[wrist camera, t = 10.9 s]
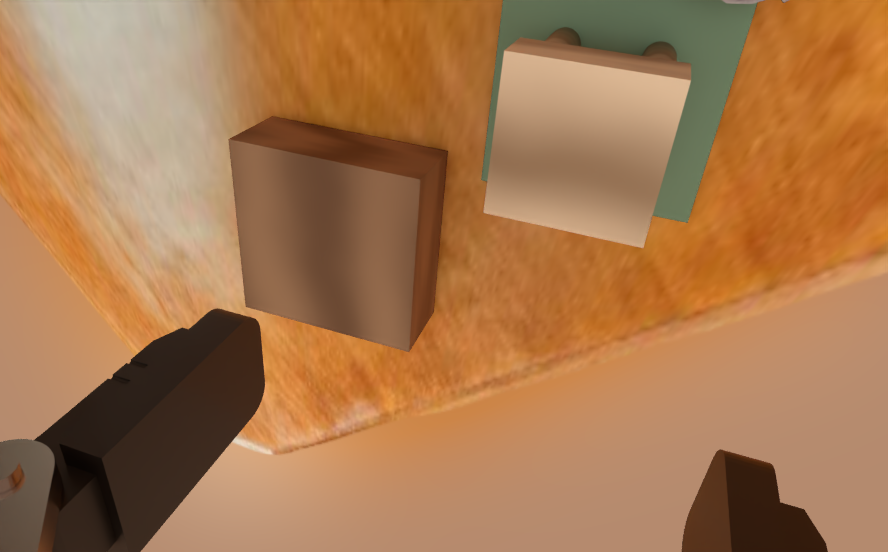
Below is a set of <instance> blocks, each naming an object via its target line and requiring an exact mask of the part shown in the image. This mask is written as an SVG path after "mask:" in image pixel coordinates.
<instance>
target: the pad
mask: <svg viewBox="0 0 888 552" xmlns="http://www.w3.org/2000/svg"><path fill="white" fill-rule="evenodd" d="M757 3H758V2H757ZM757 3H754V4H731V3H725V2H724V1H722V0H503V5H502V13H501V21H500V30H499V38H498V46H497V55H496V63H495V71H494V80H493V88H492V96H491V104H490V113H489V121H488V129H487V138H486V146H485V154H484V163H483V171H482V179H481V180H483V181H487V180H488V172H489V165H490V157H491V149H492V141H493V133H494V126H495V118H496V110H497V102H498V95H499V87H500V79H501V71H502V63H503V56H504V50H506V49H507V48H508V47H509V46H510V45H512V44H513V43H514V42H515V41H517V40H518V39H519V38H520V37H522V38H528V39H535V40H541V41H545V40H546V39H547V38H548V37H549V36H550V35H551V34H552V33H553V32H554V31H556V30H557V29H559V28H563V27H568V28H571V29H573V30H575V31H576V32H577V33H578V35H579V37H580V40H581V47H587V48H593V49H600V50H606V51H613V52H619V53H626V54H632V55H639V56H642V55H643V53H644V51H645V49H646V48H647V47H648V46H649V45H651V44H652V43H655V42H659V41H662V42H667V43H669V44H671V45H672V46H673V47H674V49H675V50H676V54H677V61H678V62H684V63H691V83H690V86H689V90H688V93H687V97H686V100H685V104H684V107H683V111H682V114H681V118H680V121H679V125H678V128H677V132H676V135H675V139H674V142H673V146H672V149H671V153H670V156H669V160H668V163H667V167H666V170H665V174H664V177H663V181H662V184H661V188H660V191H659V195H658V198H657V202H656V205H655V209H654V212H653V216H657V217H662V218H667V219H672V220H677V221H681V222H686V223H688V220H689V217H690V213H691V210H692V207H693V204H694V201H695V198H696V195H697V191H698V188H699V185H700V182H701V179H702V176H703V173H704V169H705V166H706V163H707V160H708V157H709V154H710V151H711V147H712V144H713V141H714V138H715V135H716V132H717V128H718V125H719V122H720V119H721V116H722V113H723V110H724V106H725V103H726V100H727V97H728V94H729V91H730V88H731V84H732V81H733V78H734V75H735V72H736V69H737V66H738V62H739V59H740V56H741V53H742V50H743V47H744V44H745V40H746V37H747V34H748V31H749V28H750V25H751V21H752V18H753V15H754V12H755V9H756V6H757Z"/></svg>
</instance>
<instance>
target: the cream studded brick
mask: <svg viewBox="0 0 888 552" xmlns="http://www.w3.org/2000/svg"><path fill="white" fill-rule="evenodd" d="M690 83H691V63H684V62H678V61H677V54H676V50H675V49H674V47H673V46H672V45H671V44H669V43H667V42H662V41H659V42H655V43H652V44H651V45H649V46H648V47H647V48H646V49H645V51H644V53H643V55H642V56H639V55H632V54H626V53H619V52H613V51H606V50H600V49H593V48H587V47H581V40H580V37H579V35H578V33H577V32H576V31H575V30H573V29H571V28H568V27H563V28H559V29H557V30H556V31H554V32H553V33H552V34H551V35H550V36H549V37H548V38H547V39H546V40H545V41H541V40H535V39H528V38H522V37H520V38H519V39H518V40H517V41H515V42H514V43H513V44H512V45H510V46H509V47H508V48H507V49H506V50H504V56H503V63H502V71H501V79H500V87H499V95H498V102H497V110H496V118H495V126H494V133H493V141H492V149H491V157H490V165H489V172H488V180H487V188H486V196H485V204H484V211H483V213H486V214H491V215H495V216H500V217H504V218H509V219H513V220H518V221H522V222H527V223H531V224H536V225H541V226H545V227H550V228H554V229H559V230H563V231H568V232H572V233H577V234H581V235H586V236H590V237H595V238H600V239H604V240H609V241H613V242H618V243H622V244H627V245H631V246H636V247H640V248H643V247H644V243H645V240H646V237H647V233H648V230H649V226H650V223H651V219H652V216H653V212H654V209H655V205H656V202H657V198H658V195H659V191H660V188H661V184H662V181H663V177H664V174H665V170H666V167H667V163H668V160H669V156H670V153H671V149H672V146H673V142H674V139H675V135H676V132H677V128H678V125H679V121H680V118H681V114H682V111H683V107H684V104H685V100H686V97H687V93H688V90H689V86H690Z"/></svg>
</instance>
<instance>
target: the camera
mask: <svg viewBox="0 0 888 552" xmlns="http://www.w3.org/2000/svg"><path fill="white" fill-rule="evenodd" d="M722 1H724V2H725V3H731V4H754V3H757V2H760V1H764V0H722ZM786 1H788V0H782V2H783V3H785V2H786Z"/></svg>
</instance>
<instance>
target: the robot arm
mask: <svg viewBox="0 0 888 552" xmlns="http://www.w3.org/2000/svg"><path fill="white" fill-rule="evenodd" d="M264 388H265V378H264V366H263V355H262V344H261V332H260V326H259V323H258V321H257V320H256V319H254V318H251V317H247V316H243V315H240V314H236V313H233V312H229V311H225V310H222V309H213V310H211V311H210V312H208V313H207V314H206V315H205V316H204V317H203V318H201V319H200V320H199V321H198V322H197V323H196V324H195V325H193V326H192V327H191V328H190V329H189V330H188V329H185V328H180V329H178V330H176V331H174V332H172V333H169V334H167V335H165V336H163V337H161V338H159V339H156V340H154V341H152V342H151V343H150V344H149V345H148V346H146V347H145V348H144V349H143V350H142V351H141V352H139V353H138V354H137V355H136V356H135V357H133V358H132V359H131V362H130V364H127V363H126V364H125V365H124V366H123V367H121V368H120V369H119V370H118V371H117V372H115V373H114V374H113V377H112V379H107V380H106V381H105V382H104V383H102V384H101V385H100V386H99V387H97V388H96V389H95V390H94V391H93V392H91V393H90V394H89V395H88V396H87V397H86V398H84V399H83V400H82V401H81V402H80V403H78V404H77V405H76V406H75V407H74V408H72V409H71V410H70V411H69V412H68V413H66V414H65V415H64V416H63V417H62V418H60V419H59V420H58V421H57V422H56V423H54V424H53V425H52V426H51V427H50V428H48V429H47V430H46V431H45V432H44V433H43V434H41V435H40V436H39V437H37V438H36V439H35V440H28V439H16V440H8V441H3V442H0V552H140V551H141V550H142V549H143V548H144V547H145V545H146V544H147V543H148V542H149V541H150V539H151V538H152V537H153V536H154V535H155V533H156V532H157V531H158V530H159V529H160V527H161V526H162V525H163V524H164V523H165V521H166V520H167V519H168V518H169V517H170V515H171V514H172V513H173V512H174V511H175V509H176V508H177V507H178V506H179V504H180V503H181V502H182V501H183V499H184V498H185V497H186V496H187V495H188V494H189V492H190V491H191V490H192V489H193V488H194V486H195V485H196V484H197V483H198V482H199V480H200V479H201V478H202V477H203V476H204V474H205V473H206V472H207V471H208V469H209V468H210V467H211V466H212V465H213V464H214V462H215V461H216V460H217V459H218V457H219V456H220V455H221V454H222V453H223V452H224V450H225V449H226V448H227V447H228V445H229V444H230V443H231V442H232V441H233V439H234V438H235V437H236V436H237V435H238V433H239V432H240V431H241V430H242V429H243V427H244V426H245V425H246V424H247V423H248V421H249V420H250V419H251V418H252V417H253V415H254V414H255V412H256V411H257V409H258V407H259V405H260V403H261V400H262V397H263V393H264ZM682 552H828V551H827V546H826V543H825V541H824V540H823V538H822V537H821V535H820V533H819V532H818V530H817V529H816V527H815V526H814V524H813V523H812V521H811V520H810V518H809V516H808V515H807V513H806V512H805V510H804V509H801V508H798V507H794V506H791V505H787V504H784V503H780V499H779V493H778V486H777V480H776V474H775V470H774V467H773V465H772V464H770V463H767V462H764V461H760V460H757V459H753V458H749V457H746V456H742V455H739V454H735V453H731V452H727V451H724V450H718V451H717V452H716V454H715V456H714V458H713V460H712V462H711V464H710V467H709V469H708V471H707V473H706V476H705V478H704V480H703V482H702V485H701V487H700V489H699V491H698V494H697V496H696V498H695V501H694V503H693V505H692V507H691V509H690V512H689V515H688V517H687V521H686V525H685V529H684V535H683V542H682Z"/></svg>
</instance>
